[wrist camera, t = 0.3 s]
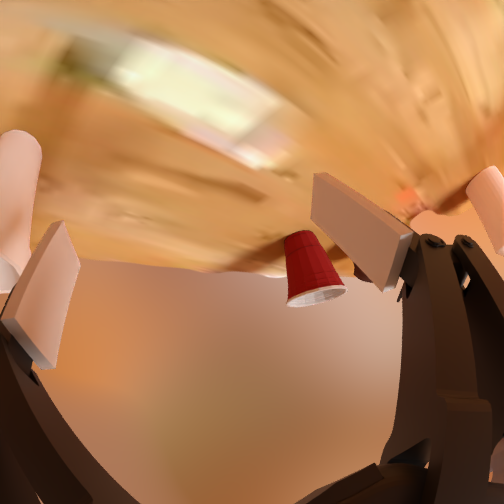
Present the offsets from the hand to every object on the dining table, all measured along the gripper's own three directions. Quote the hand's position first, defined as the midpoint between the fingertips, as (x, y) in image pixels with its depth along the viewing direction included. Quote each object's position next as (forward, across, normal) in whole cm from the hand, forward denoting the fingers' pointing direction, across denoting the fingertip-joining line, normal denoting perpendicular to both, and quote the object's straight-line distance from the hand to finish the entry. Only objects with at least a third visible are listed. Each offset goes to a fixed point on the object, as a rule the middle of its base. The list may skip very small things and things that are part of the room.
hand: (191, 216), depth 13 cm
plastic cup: (+26, +19, -21) cm, 38 cm away
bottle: (+16, +64, -7) cm, 66 cm away
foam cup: (+15, -17, +5) cm, 23 cm away
